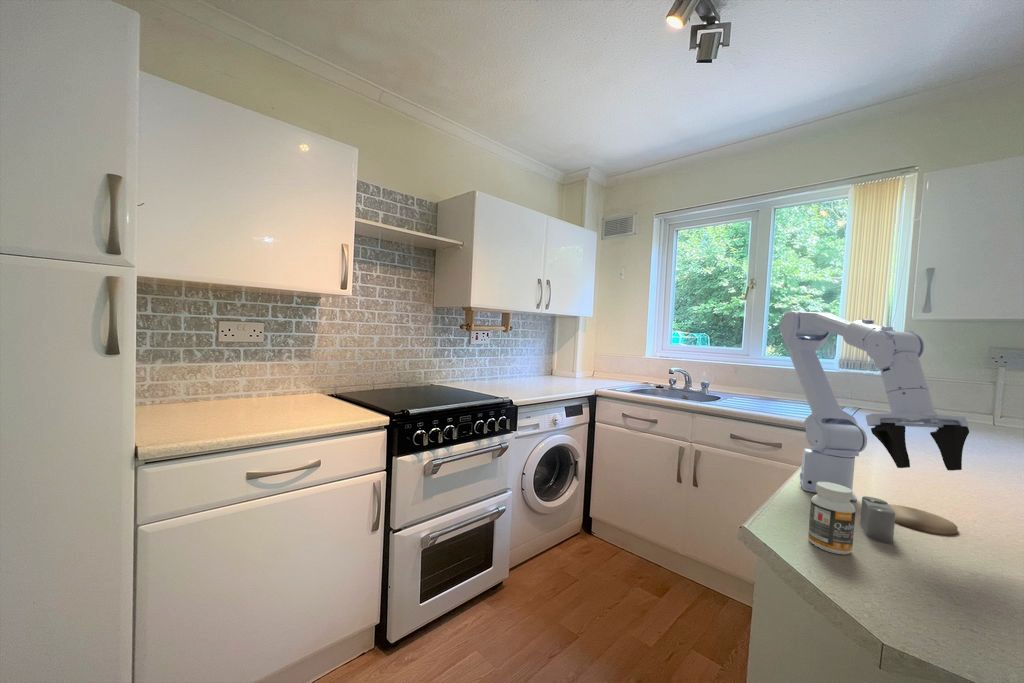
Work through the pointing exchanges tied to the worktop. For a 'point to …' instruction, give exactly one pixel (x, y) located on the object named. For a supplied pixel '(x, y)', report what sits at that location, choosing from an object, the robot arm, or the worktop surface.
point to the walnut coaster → (923, 520)
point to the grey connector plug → (877, 519)
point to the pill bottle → (832, 518)
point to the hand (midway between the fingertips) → (928, 468)
